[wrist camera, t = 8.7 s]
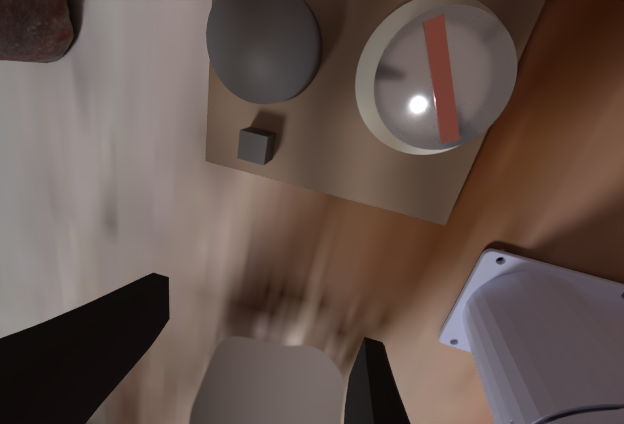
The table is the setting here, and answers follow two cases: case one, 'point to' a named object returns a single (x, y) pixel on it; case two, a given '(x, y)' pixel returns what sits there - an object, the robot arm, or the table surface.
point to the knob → (445, 77)
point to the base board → (330, 99)
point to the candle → (34, 30)
